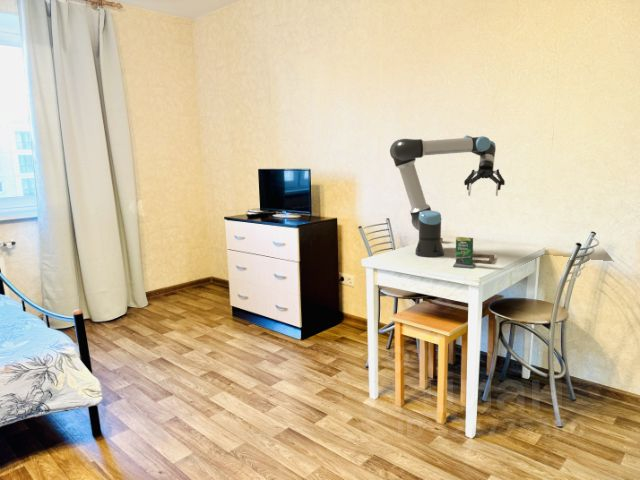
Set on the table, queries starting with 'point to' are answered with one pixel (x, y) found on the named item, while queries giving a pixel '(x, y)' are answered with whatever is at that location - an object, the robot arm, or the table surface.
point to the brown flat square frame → (483, 257)
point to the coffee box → (464, 250)
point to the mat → (463, 265)
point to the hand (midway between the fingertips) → (482, 194)
